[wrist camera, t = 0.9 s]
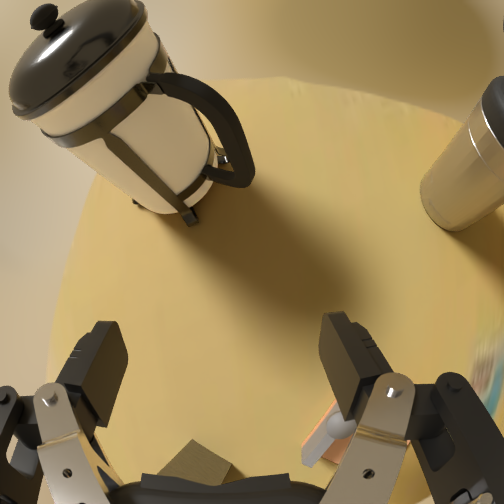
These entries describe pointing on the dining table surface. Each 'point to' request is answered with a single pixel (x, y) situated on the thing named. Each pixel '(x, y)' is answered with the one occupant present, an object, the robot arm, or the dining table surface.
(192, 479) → the block
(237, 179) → the coffee press
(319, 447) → the dock
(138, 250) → the dining table surface
